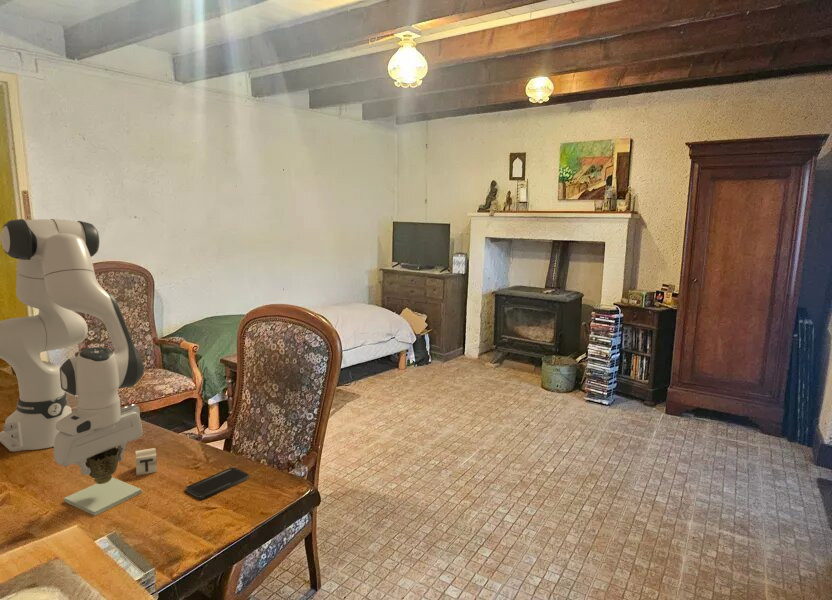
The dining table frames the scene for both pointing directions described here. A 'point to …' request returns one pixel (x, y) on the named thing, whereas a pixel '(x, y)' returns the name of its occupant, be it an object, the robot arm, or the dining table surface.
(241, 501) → the dining table surface
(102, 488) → the sage board
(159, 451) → the dining table surface
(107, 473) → the cup
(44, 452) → the dining table surface
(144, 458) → the letter cube
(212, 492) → the phone
